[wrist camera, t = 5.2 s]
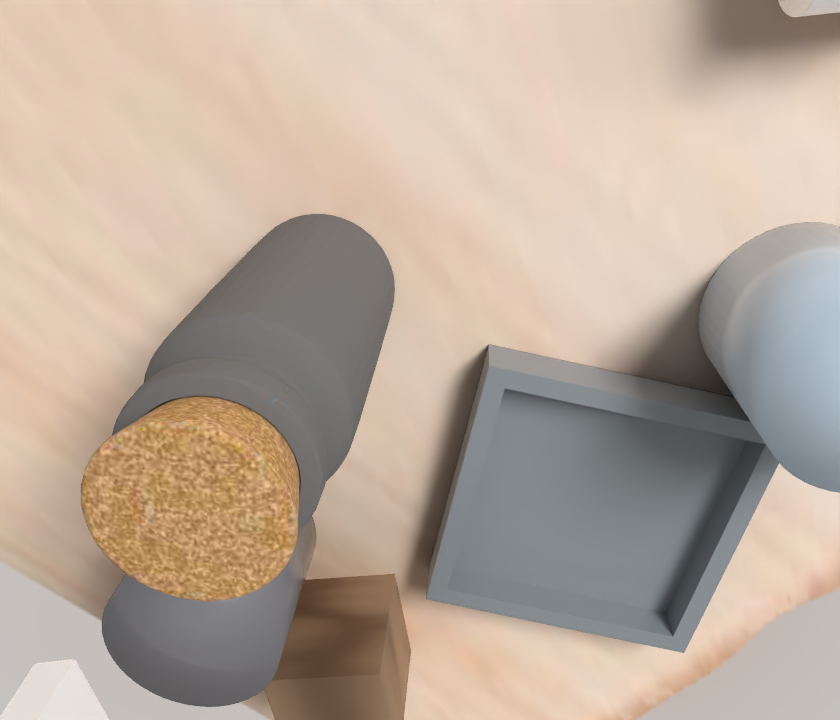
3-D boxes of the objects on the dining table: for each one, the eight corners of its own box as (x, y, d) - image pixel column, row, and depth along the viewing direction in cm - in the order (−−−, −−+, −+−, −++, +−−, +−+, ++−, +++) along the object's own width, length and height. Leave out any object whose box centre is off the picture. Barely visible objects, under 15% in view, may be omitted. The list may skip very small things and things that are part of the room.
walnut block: (315, 655, 38) (288, 761, 33) (294, 580, 36) (261, 680, 30) (410, 649, 37) (399, 757, 32) (394, 573, 35) (379, 674, 30)
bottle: (367, 371, 31) (278, 654, 17) (234, 321, 30) (33, 571, 17) (417, 246, 28) (360, 459, 15) (273, 188, 28) (75, 355, 14)
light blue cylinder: (672, 371, 30) (724, 468, 23) (739, 203, 27) (819, 262, 20) (839, 407, 30) (936, 513, 23) (924, 244, 27) (1062, 315, 20)
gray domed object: (167, 569, 36) (100, 687, 30) (174, 452, 33) (102, 555, 27) (306, 598, 36) (269, 721, 30) (326, 484, 33) (289, 594, 27)
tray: (428, 568, 35) (425, 598, 33) (488, 344, 30) (489, 365, 28) (673, 619, 35) (683, 652, 33) (775, 406, 30) (794, 431, 28)
